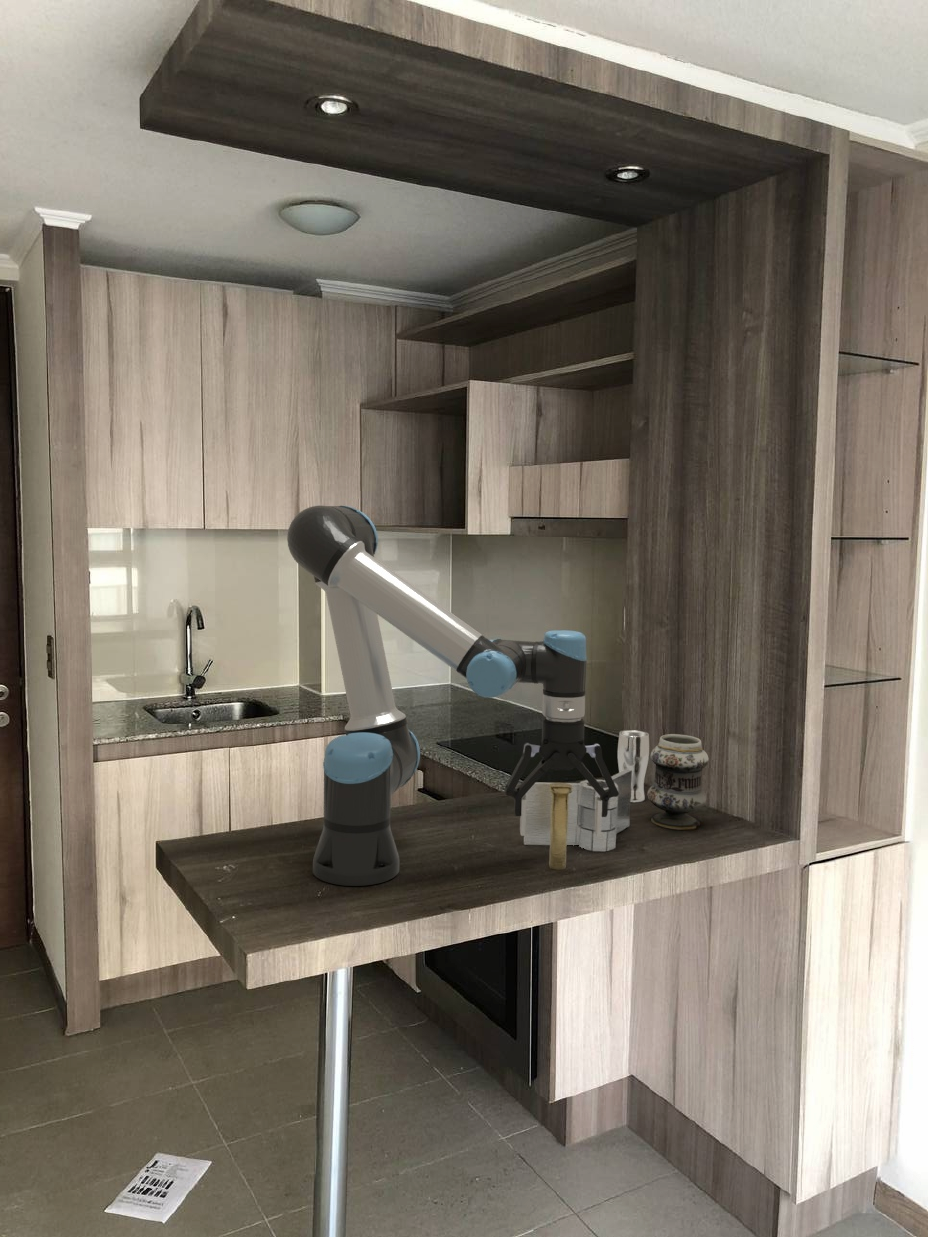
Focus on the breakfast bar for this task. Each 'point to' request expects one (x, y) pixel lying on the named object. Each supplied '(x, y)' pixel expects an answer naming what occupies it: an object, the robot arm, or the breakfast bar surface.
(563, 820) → the brass pin
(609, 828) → the hinge swing leaf
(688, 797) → the apothecary jar
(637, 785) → the beer glass
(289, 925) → the breakfast bar surface
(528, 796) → the hinge fixed leaf
